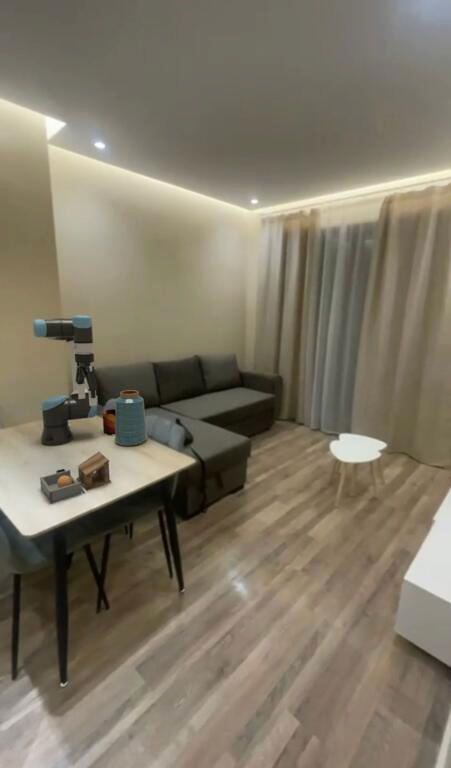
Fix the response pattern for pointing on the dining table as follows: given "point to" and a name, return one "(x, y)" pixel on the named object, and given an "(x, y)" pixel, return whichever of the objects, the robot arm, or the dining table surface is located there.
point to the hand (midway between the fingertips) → (87, 401)
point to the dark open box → (60, 470)
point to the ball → (64, 481)
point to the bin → (54, 491)
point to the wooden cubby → (90, 466)
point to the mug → (109, 421)
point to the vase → (130, 419)
